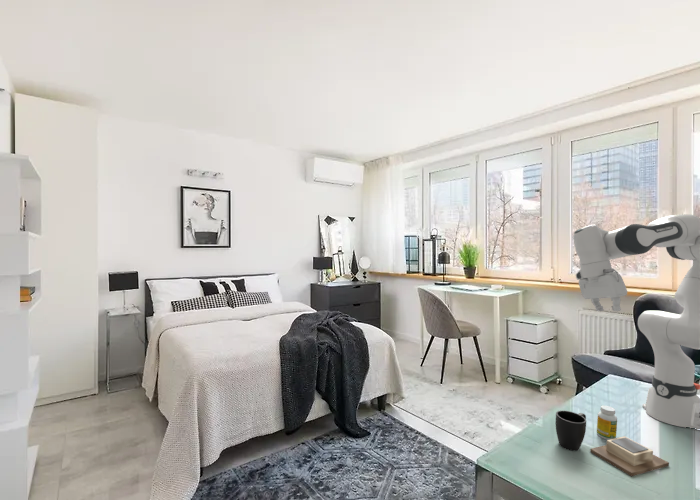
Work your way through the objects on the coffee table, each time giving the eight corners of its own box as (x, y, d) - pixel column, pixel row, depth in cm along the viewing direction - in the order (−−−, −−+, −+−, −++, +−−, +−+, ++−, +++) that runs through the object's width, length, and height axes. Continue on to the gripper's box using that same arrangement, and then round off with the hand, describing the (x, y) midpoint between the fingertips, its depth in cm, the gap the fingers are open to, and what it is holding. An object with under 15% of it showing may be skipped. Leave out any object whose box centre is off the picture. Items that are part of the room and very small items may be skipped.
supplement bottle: (600, 430, 127) (602, 403, 126) (618, 437, 122) (620, 409, 122) (593, 434, 124) (595, 406, 123) (611, 442, 119) (613, 413, 119)
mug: (596, 446, 116) (598, 417, 116) (574, 456, 111) (576, 425, 110) (570, 433, 124) (572, 406, 123) (548, 442, 118) (550, 413, 117)
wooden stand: (625, 443, 119) (626, 430, 119) (668, 465, 108) (669, 451, 107) (590, 451, 113) (591, 438, 113) (631, 476, 102) (632, 461, 102)
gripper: (625, 265, 117) (638, 309, 115) (590, 272, 138) (600, 309, 135) (605, 269, 118) (618, 312, 115) (572, 275, 138) (583, 312, 135)
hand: (608, 311), depth 125 cm, fingers open, 8 cm apart
